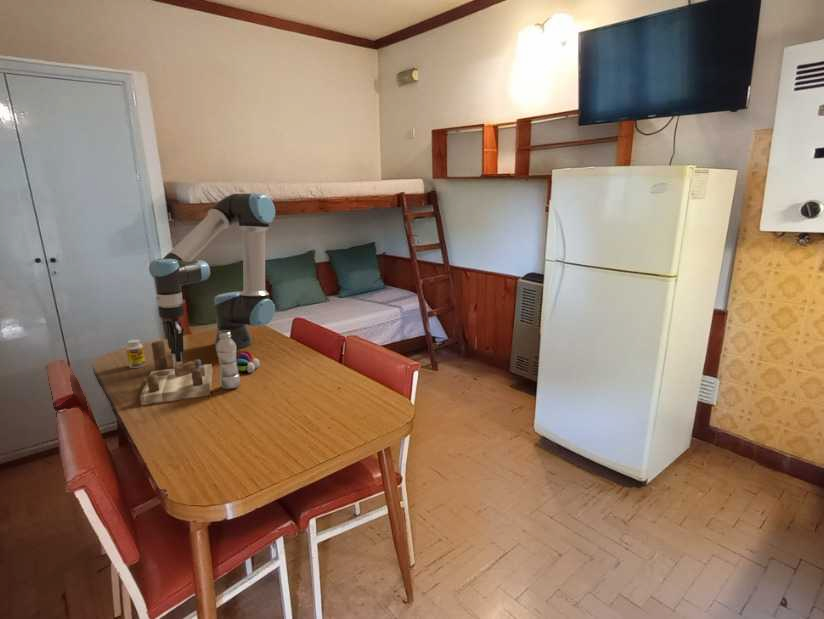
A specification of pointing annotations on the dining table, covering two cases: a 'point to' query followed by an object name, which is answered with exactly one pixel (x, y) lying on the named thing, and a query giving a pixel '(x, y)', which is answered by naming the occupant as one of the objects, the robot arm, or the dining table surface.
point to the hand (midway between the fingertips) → (178, 369)
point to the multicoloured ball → (247, 362)
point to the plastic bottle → (227, 361)
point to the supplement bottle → (135, 354)
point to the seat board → (176, 385)
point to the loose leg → (159, 356)
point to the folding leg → (187, 367)
